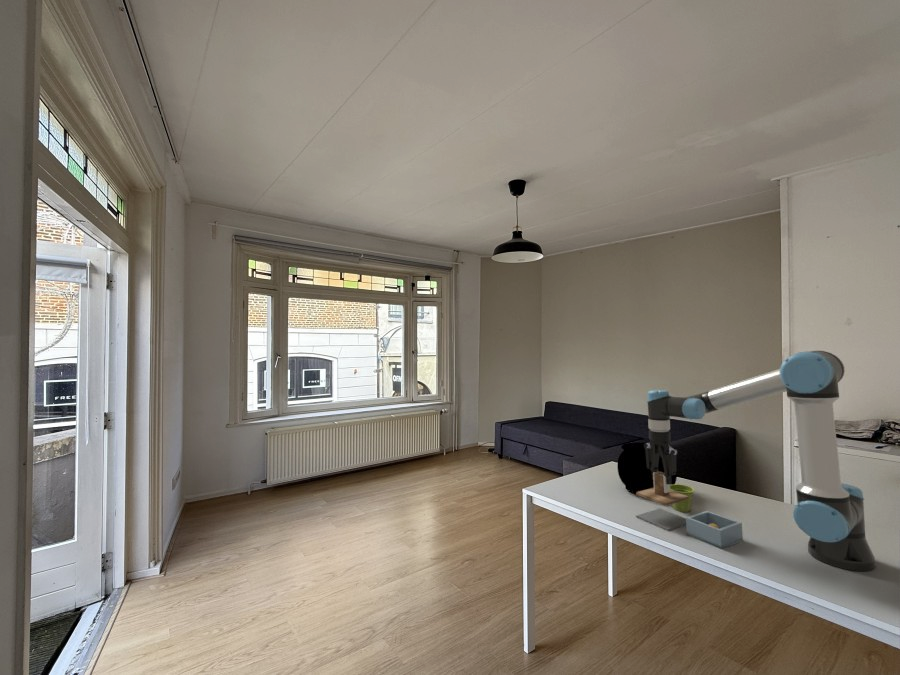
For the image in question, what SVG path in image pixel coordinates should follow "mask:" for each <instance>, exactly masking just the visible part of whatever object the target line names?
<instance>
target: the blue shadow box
mask: <svg viewBox="0 0 900 675" xmlns="http://www.w3.org/2000/svg"><path fill="white" fill-rule="evenodd" d="M685 518H686V525H685V526H686V535H687V536H690V537H691V538H694V539H697V540H698V541H701V542H704V543H706V544H708V545H710V546H713V547H715V548H718V549H721V550H722V549H725V548H727V547H730V546H733V545H734V544H737V543H739V542H740V543H741V542H742V541H743V539H744V537H743V523H742V522H741V521H738V520H734V519H732V518H729V517H726V516H723V515H721V514H718V513H715V512H711V511H709V510H705V511H702V512H700V513H695V514H692V515H689V516H687V517H685ZM711 523H713V524H716V525H717V526H718V527H719V529H718V528H715V527H713V526H710V525H709V524H711Z"/></svg>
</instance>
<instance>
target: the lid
mask: <svg viewBox="0 0 900 675" xmlns="http://www.w3.org/2000/svg"><path fill="white" fill-rule="evenodd" d="M663 475H665V473H663V472H657V473H654V485H655V489H654V488H650V489H646V490H643V491H639V492H636V494H635V495H637V496H639V497H641V498H644V499H647V500H650V501H653V502H655V503H657V504H659V505H662V506H666V507H668V506H671V505H673V504H674V503H678V502H681V501H685V500H688V499H689V496H686V495H683V494H680V493H677V492H674V491H671V490H670V492H668V493H664V484H663Z"/></svg>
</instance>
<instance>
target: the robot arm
mask: <svg viewBox="0 0 900 675" xmlns="http://www.w3.org/2000/svg"><path fill="white" fill-rule="evenodd" d="M844 376H845V365H844V363H843V361H842V360H841V359H840V358H839V357H838V356H837V355H835V354H834V353H832V352H829V351H824V350H811V351H810V350H809V351H808V350H807V351H798V352H796V353H793V354H792V355H790V356H788V357H787V358H785V360H784V361H783V362H782V363H781V365H780V367H779V368H778V369H775V370H772V371H769V372H766V373H762V374H760V375H756V376H753V377H749V378H746V379H742V380H740V381H737V382H733V383H730V384H728V385H724V386H720V387H717V388H714V389H711V390H708V391H704V392H701V393H699V394H694V395H690V396H689V395H688V396H683V397H680V396H671V395H670V393H669V391H668V390H664V389H651V390H650V389H649V391H647V401H646V402H647V415H648V420H647V422H648V439H649V442H645V443H646V444H644V448H645V453H646V464H647V469H650V470H651V471H652V479H653V480H654V473H657V472H659V471H658V463H659V455H660V457H661V458H662V462H663V467H664V472H665V475H663V484H664V493H668V492H670V484H671V483H672V482H671V476H672V475H676V468H677V455H678V453H679V450H678V449H674V448H673V447H672V445H671V440H672V438H671V431H670V430H671V417H675V418H683V419H689V420H701V419H703V418H704V416H705V414H708V413H712V412H716V411H718V410H723V409H726V408H727V409H728V408H730V407H733V406H737V405H741V404H745V403H748V402H752V401H755V400H760V399H763V398H767V397H772V396H774V395H779V394H783V393H785V392H786V396H787V398H788V399H790V401H792V402H793V404H794V406H793V407H794V414H795V423H796V434H797V436H796V437H797V444H798V446H797V447H798V455H799V466H800V476H801V477H800V478H801V482H800V483H799V484H797V485H796V487H795V490H796V491H795V492H796V501H797V504H796V505H795V506H794V508H793V515H792V516H793V519H794V522H795V524H796V525H797V527H798V528H799V529H800V530H802V532H803V533H804V534H805V535H806V536H809V540H808V543H807V551H808V553H809V555H810V556H811V557H813V558H815V559H816V560H818V561H820V562H822V563H825V564H827V565H830V566H833V567H835V568H836V567H837V568H840V569H844V570H850V571H857V572H870V571H872V570H874V569H876V559H875V555H874V553H873V551H872V549H871V547H870V545H869V543H868V540H867V538H866V527H865V526H866V525H865V523H866V522H865V521H866V520H865V507H864V505H865V504H864V503H865V502H864V500H865V498H864V495H863V494H864V493H863V491H862V489H861V488H860V487H858V486H855V485H851V484H848V483H842V481H841V479H842V478H841V470H840V461H839V453H838V451H839V450H838V440H837V434H836V433H837V432H836V422H835V412H834V405H833V404H834V403H835V402H836V401H837V400H838V399H840V393H839V383H840V382H841V380H842V379H843V378H844ZM651 447H652V448H651ZM669 451H670V452H669ZM654 489H655V485H654Z"/></svg>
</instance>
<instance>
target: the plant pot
mask: <svg viewBox="0 0 900 675" xmlns="http://www.w3.org/2000/svg"><path fill="white" fill-rule="evenodd" d="M670 490H671V491H674V492H677V493H680V494H683V495H686V496H689V499H688V500H685V501H681V502H678V503H674V504H672V508H673V510H675V511H679V512H681V513H689V511H691V508H692V501H693V500H692V497H693V495H694V493H695V489H694V488H693V487H691V486H689V485H686V484H677V483H675V484H673V485H670Z"/></svg>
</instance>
